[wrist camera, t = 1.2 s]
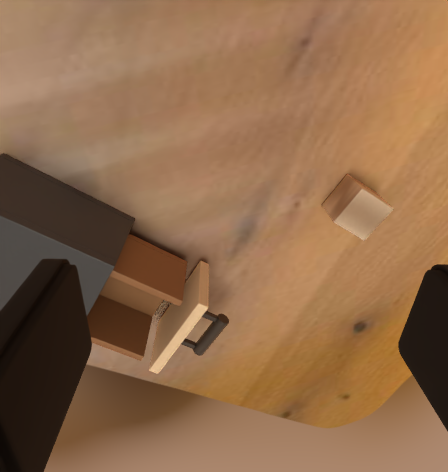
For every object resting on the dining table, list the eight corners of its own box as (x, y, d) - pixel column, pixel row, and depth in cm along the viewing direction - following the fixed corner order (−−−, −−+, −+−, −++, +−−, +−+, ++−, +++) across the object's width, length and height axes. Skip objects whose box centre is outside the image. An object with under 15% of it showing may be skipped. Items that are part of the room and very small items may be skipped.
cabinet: (135, 218, 40) (114, 266, 31) (94, 294, 45) (66, 353, 36) (3, 152, 35) (-63, 188, 27) (-26, 244, 41) (-88, 297, 32)
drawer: (239, 278, 43) (244, 323, 36) (194, 336, 48) (191, 386, 41) (103, 212, 38) (79, 250, 31) (67, 284, 43) (40, 331, 36)
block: (347, 173, 38) (362, 188, 34) (376, 192, 39) (394, 209, 35) (321, 204, 40) (333, 222, 36) (350, 222, 41) (364, 241, 37)
